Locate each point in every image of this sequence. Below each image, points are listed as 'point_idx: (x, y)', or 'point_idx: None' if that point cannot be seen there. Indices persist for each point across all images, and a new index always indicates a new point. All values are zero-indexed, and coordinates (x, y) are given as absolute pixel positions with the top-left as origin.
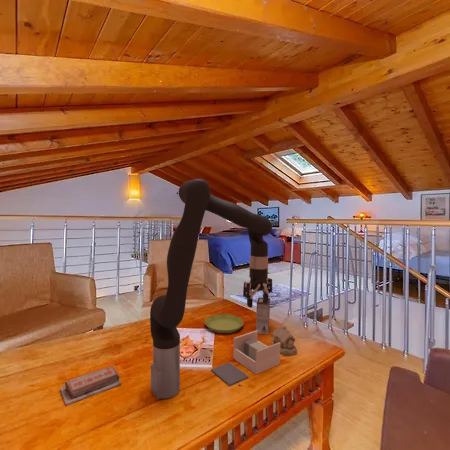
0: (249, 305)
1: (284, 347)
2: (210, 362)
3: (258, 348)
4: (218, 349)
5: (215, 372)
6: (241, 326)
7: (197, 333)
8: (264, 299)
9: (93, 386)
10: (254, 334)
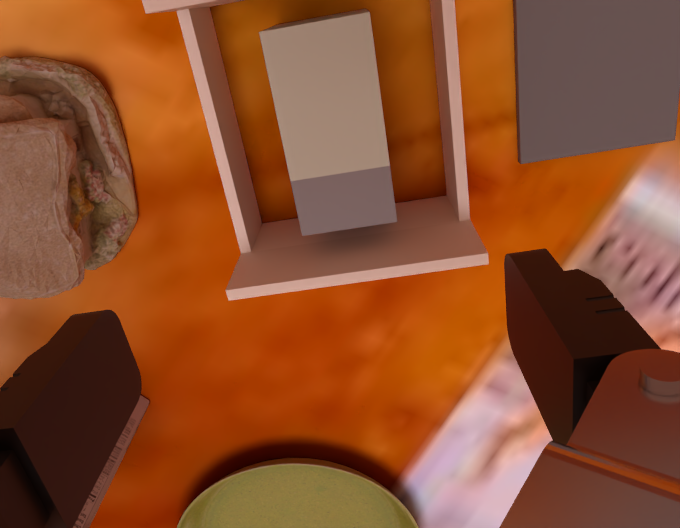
0: (589, 281)
1: (66, 120)
2: (612, 223)
3: (353, 73)
4: (480, 330)
5: (677, 91)
6: (220, 479)
7: (487, 518)
8: (100, 399)
9: None
10: (266, 274)
